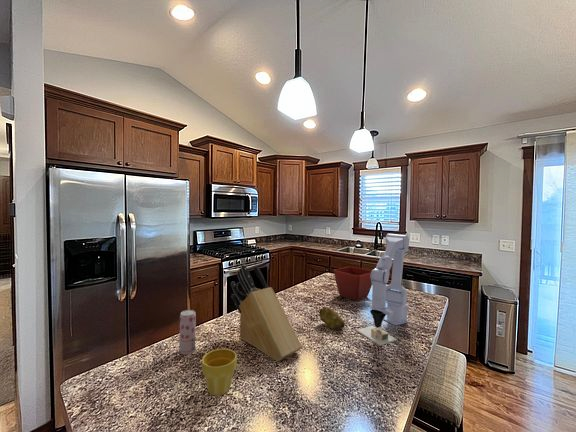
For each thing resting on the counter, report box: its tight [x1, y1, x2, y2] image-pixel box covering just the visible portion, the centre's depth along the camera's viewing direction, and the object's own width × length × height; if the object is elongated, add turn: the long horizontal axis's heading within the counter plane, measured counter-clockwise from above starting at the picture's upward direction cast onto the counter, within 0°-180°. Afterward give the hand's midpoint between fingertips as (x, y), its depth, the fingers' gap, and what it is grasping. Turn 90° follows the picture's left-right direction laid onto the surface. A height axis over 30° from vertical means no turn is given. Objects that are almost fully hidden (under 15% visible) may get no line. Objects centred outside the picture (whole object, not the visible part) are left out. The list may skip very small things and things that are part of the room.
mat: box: [356, 325, 398, 346], centre depth 116 cm, size 10×14×1 cm
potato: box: [318, 306, 345, 331], centre depth 124 cm, size 8×13×8 cm, turn 27°
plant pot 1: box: [201, 348, 238, 397], centre depth 80 cm, size 10×10×10 cm
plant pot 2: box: [333, 266, 373, 302], centre depth 166 cm, size 19×19×17 cm
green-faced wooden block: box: [371, 327, 390, 341], centre depth 113 cm, size 4×2×6 cm
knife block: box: [230, 264, 303, 362], centre depth 108 cm, size 11×35×31 cm, turn 45°
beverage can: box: [179, 309, 197, 356], centre depth 100 cm, size 6×6×15 cm
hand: (377, 326), depth 115 cm, fingers closed
